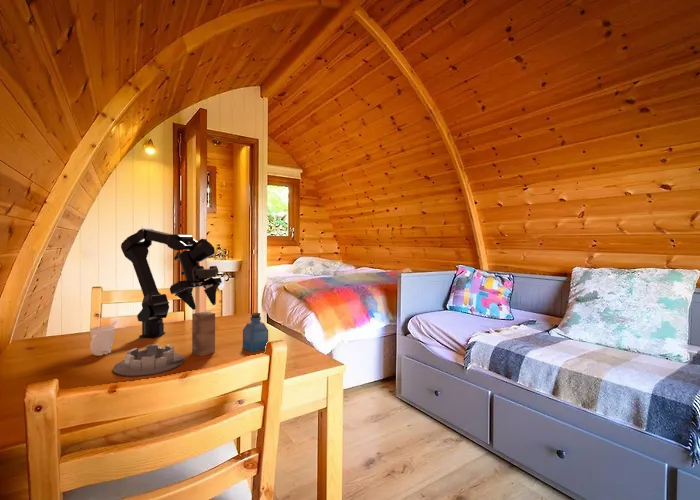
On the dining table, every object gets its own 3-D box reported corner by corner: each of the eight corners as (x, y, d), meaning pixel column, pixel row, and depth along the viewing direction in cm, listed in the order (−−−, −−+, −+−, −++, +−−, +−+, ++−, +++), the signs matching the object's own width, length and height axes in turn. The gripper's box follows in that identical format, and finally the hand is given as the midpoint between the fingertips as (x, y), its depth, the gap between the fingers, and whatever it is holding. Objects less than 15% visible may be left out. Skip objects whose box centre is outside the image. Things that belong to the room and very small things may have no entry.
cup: (120, 349, 112) (120, 325, 112) (104, 359, 103) (104, 333, 102) (97, 349, 111) (97, 325, 111) (78, 360, 101) (78, 334, 101)
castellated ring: (96, 374, 91) (96, 359, 91) (142, 352, 109) (142, 340, 109) (159, 378, 90) (159, 363, 90) (195, 355, 108) (195, 342, 107)
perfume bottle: (268, 348, 116) (268, 313, 116) (252, 352, 112) (252, 316, 112) (258, 344, 121) (258, 311, 120) (242, 347, 116) (243, 313, 116)
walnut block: (192, 353, 110) (192, 313, 109) (205, 349, 114) (206, 311, 114) (201, 356, 107) (201, 315, 107) (214, 352, 111) (215, 313, 111)
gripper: (184, 259, 110) (200, 303, 108) (225, 256, 127) (239, 295, 125) (162, 271, 113) (176, 315, 111) (204, 268, 131) (217, 305, 129)
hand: (204, 307), depth 119 cm, fingers open, 9 cm apart
